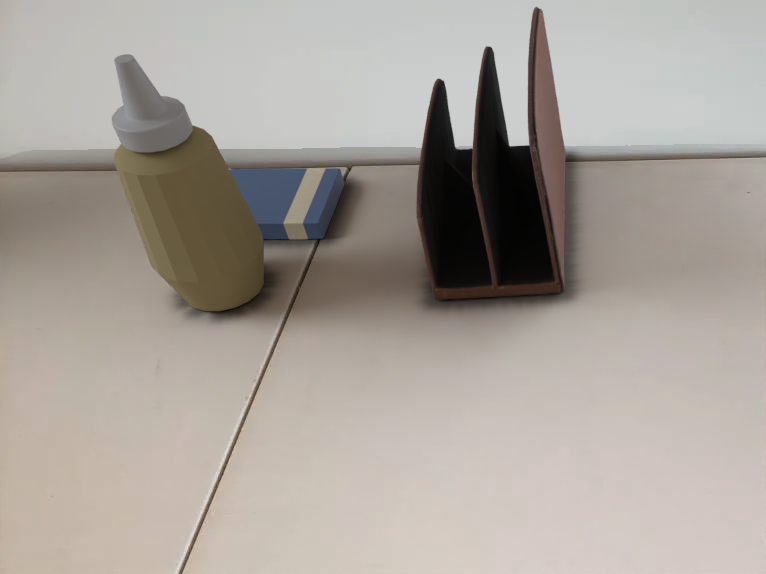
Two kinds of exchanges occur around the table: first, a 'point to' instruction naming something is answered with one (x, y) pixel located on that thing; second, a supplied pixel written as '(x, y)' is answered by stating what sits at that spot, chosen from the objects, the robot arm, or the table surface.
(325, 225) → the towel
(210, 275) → the squeeze bottle
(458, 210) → the letter holder
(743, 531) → the table surface
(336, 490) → the table surface
